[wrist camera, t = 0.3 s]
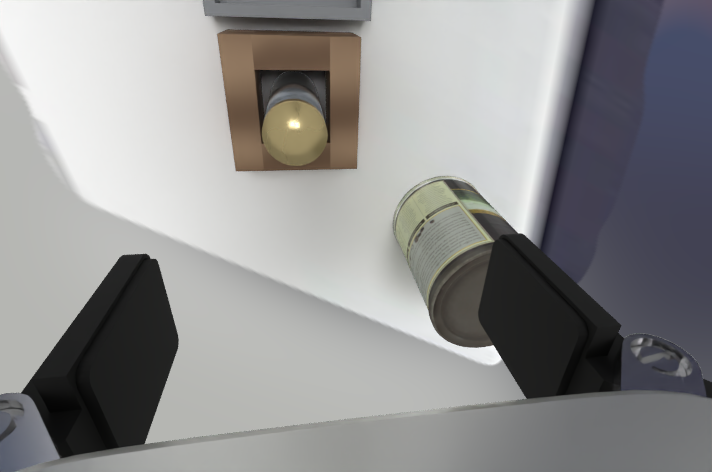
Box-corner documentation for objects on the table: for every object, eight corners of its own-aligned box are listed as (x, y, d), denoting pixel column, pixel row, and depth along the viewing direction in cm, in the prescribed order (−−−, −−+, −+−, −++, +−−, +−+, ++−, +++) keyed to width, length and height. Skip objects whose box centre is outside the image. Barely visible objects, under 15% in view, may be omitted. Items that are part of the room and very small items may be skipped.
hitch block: (227, 29, 31) (217, 33, 27) (352, 32, 32) (361, 37, 28) (242, 151, 36) (235, 171, 32) (349, 149, 37) (356, 168, 33)
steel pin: (269, 70, 33) (258, 101, 23) (316, 71, 33) (327, 101, 23) (273, 118, 35) (264, 166, 25) (317, 118, 35) (327, 165, 25)
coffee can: (487, 169, 41) (569, 239, 29) (477, 250, 46) (542, 338, 34) (391, 180, 40) (433, 258, 28) (392, 262, 45) (428, 356, 33)
